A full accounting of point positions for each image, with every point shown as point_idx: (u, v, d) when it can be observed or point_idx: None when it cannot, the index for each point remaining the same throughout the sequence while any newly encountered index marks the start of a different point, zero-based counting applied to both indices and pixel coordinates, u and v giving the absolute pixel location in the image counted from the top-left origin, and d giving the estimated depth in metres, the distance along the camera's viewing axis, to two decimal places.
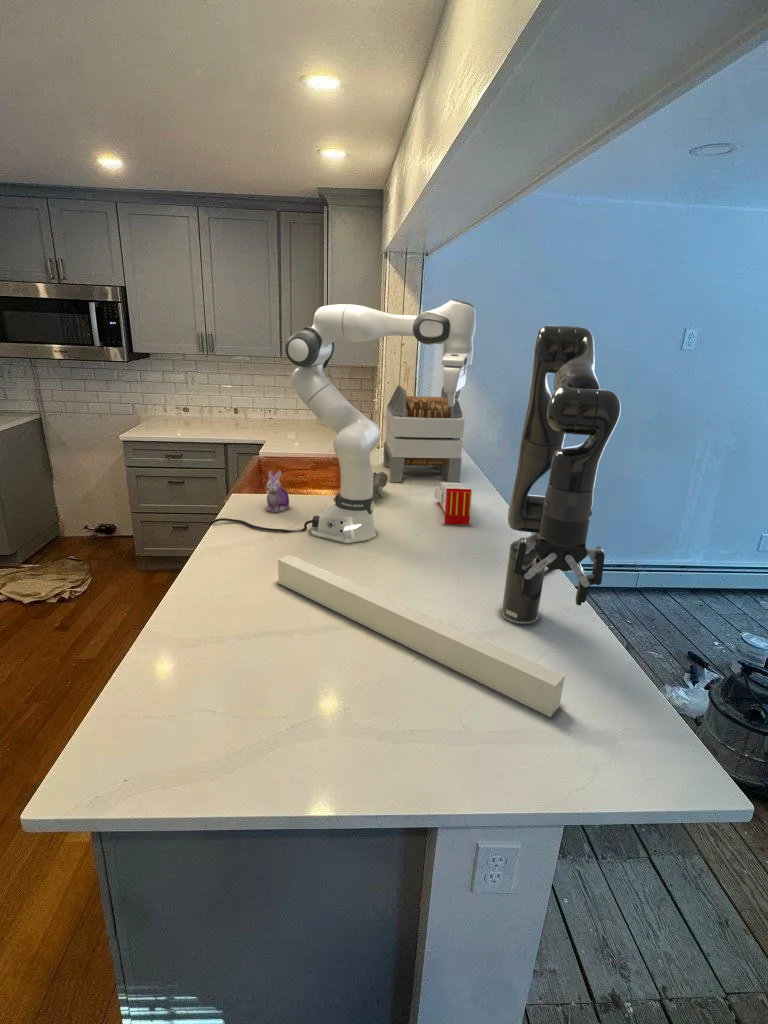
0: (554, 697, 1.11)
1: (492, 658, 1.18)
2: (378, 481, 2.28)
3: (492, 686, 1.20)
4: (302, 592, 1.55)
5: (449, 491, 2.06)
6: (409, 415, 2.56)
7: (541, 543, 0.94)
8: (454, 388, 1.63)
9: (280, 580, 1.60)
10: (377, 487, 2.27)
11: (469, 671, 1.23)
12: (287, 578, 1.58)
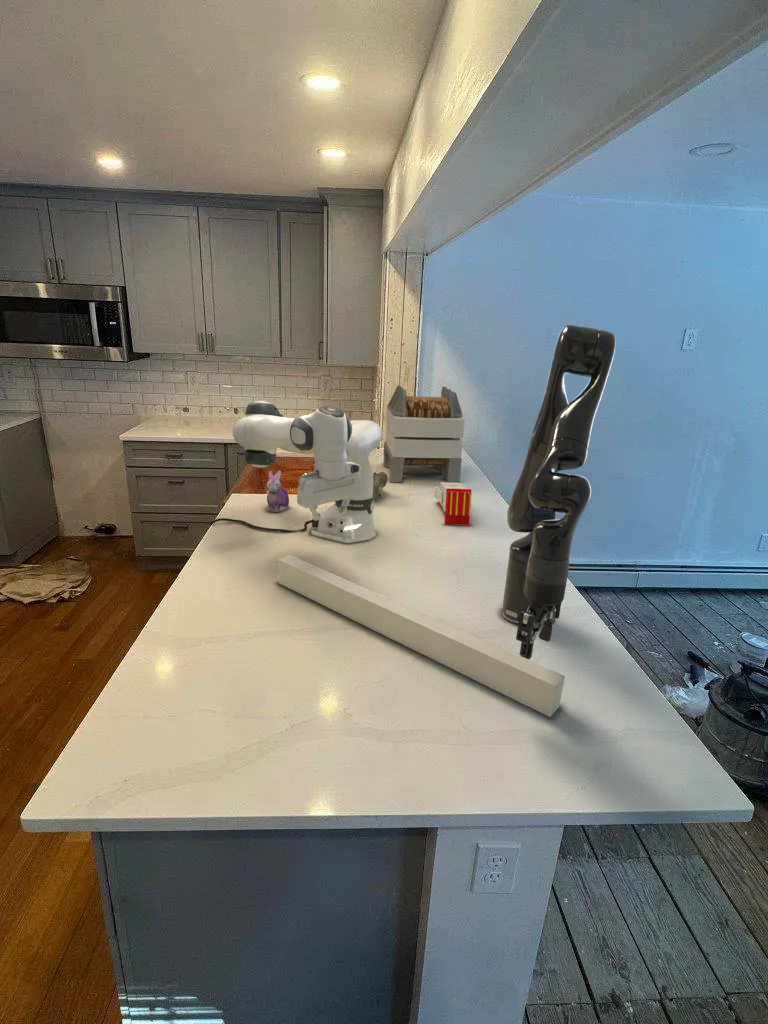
0: (554, 697, 1.11)
1: (492, 658, 1.18)
2: (378, 481, 2.28)
3: (492, 686, 1.20)
4: (302, 592, 1.55)
5: (449, 491, 2.06)
6: (409, 415, 2.56)
7: None
8: None
9: (280, 580, 1.60)
10: (377, 487, 2.27)
11: (469, 671, 1.23)
12: (287, 578, 1.58)
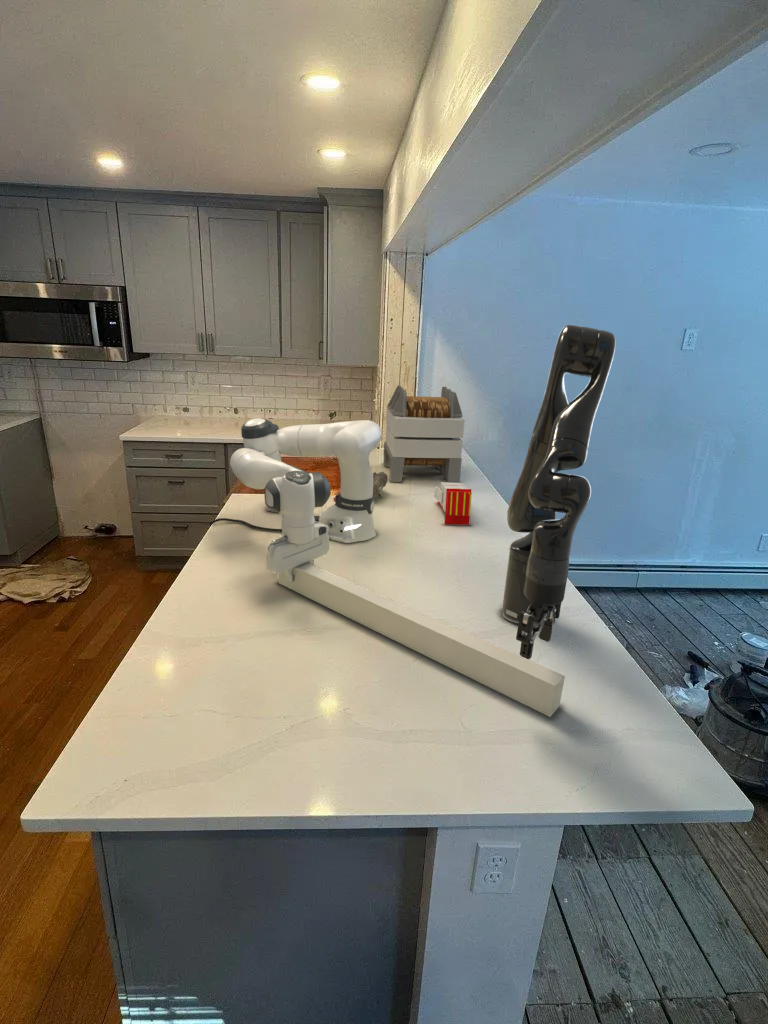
0: (554, 697, 1.11)
1: (492, 658, 1.18)
2: (378, 481, 2.28)
3: (492, 686, 1.20)
4: (302, 592, 1.55)
5: (449, 491, 2.06)
6: (409, 415, 2.56)
7: None
8: None
9: (280, 580, 1.60)
10: (377, 487, 2.27)
11: (469, 671, 1.23)
12: None
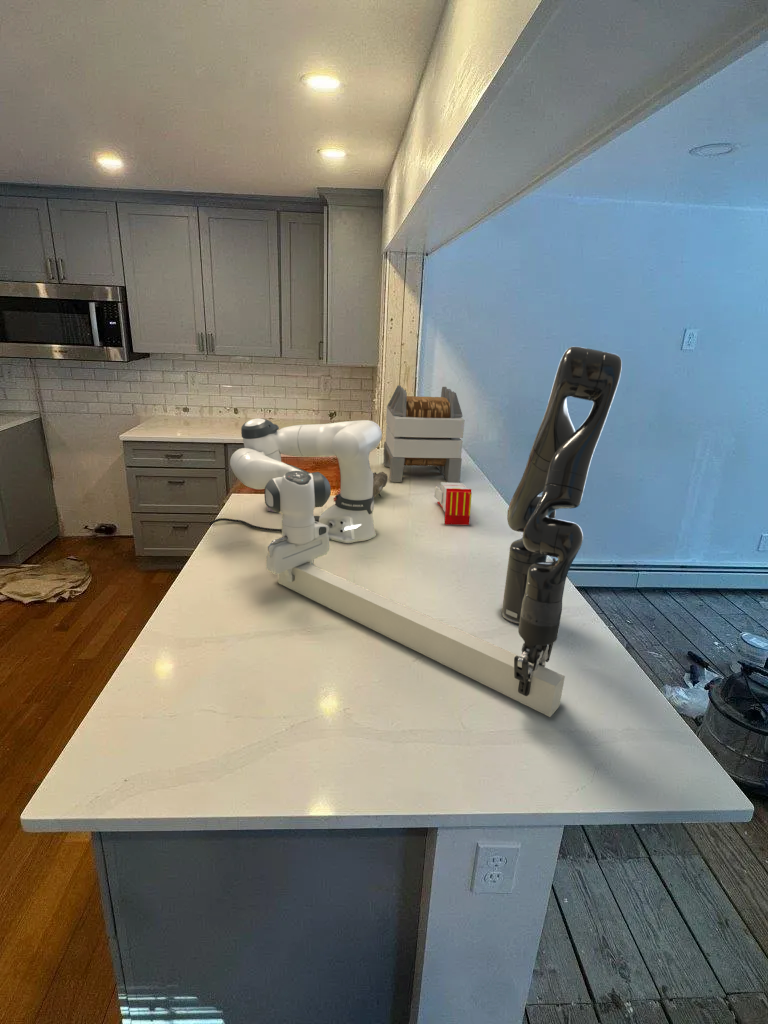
0: (554, 697, 1.11)
1: (492, 658, 1.18)
2: (378, 481, 2.28)
3: (492, 686, 1.20)
4: (301, 592, 1.55)
5: (449, 491, 2.06)
6: (409, 415, 2.56)
7: None
8: None
9: (279, 580, 1.60)
10: (377, 487, 2.27)
11: (469, 671, 1.23)
12: None
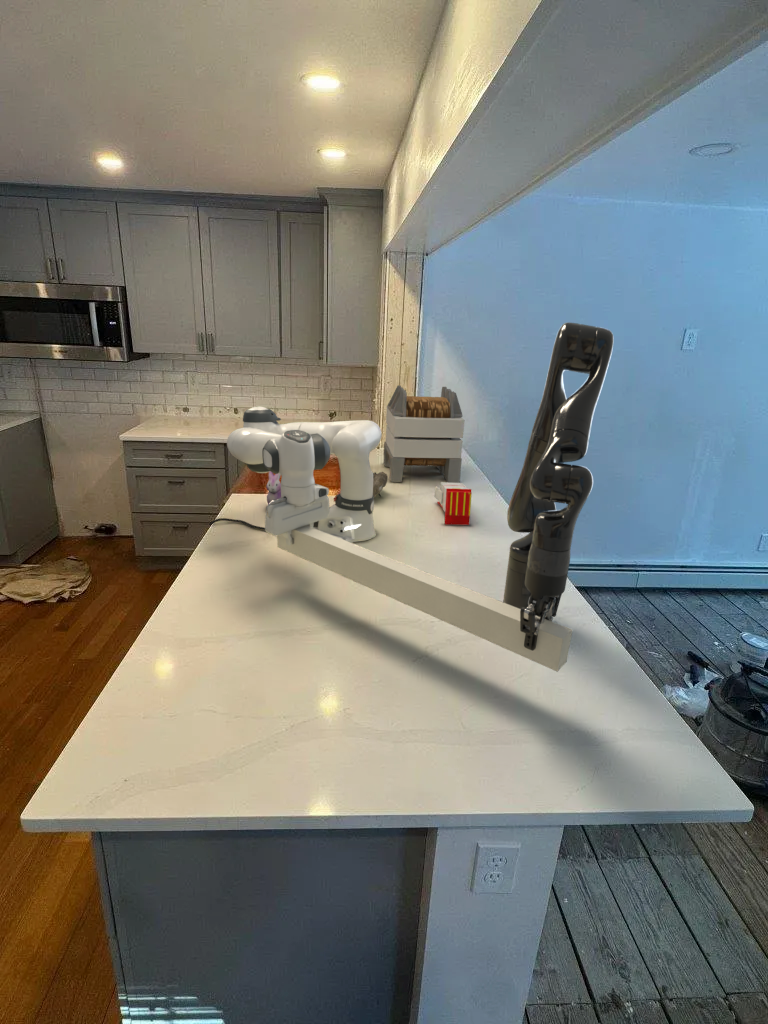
0: (561, 651, 1.08)
1: (497, 613, 1.15)
2: (378, 481, 2.28)
3: (498, 642, 1.16)
4: (301, 555, 1.51)
5: (449, 491, 2.06)
6: (409, 415, 2.56)
7: None
8: None
9: (279, 544, 1.57)
10: (377, 487, 2.27)
11: (474, 628, 1.19)
12: None
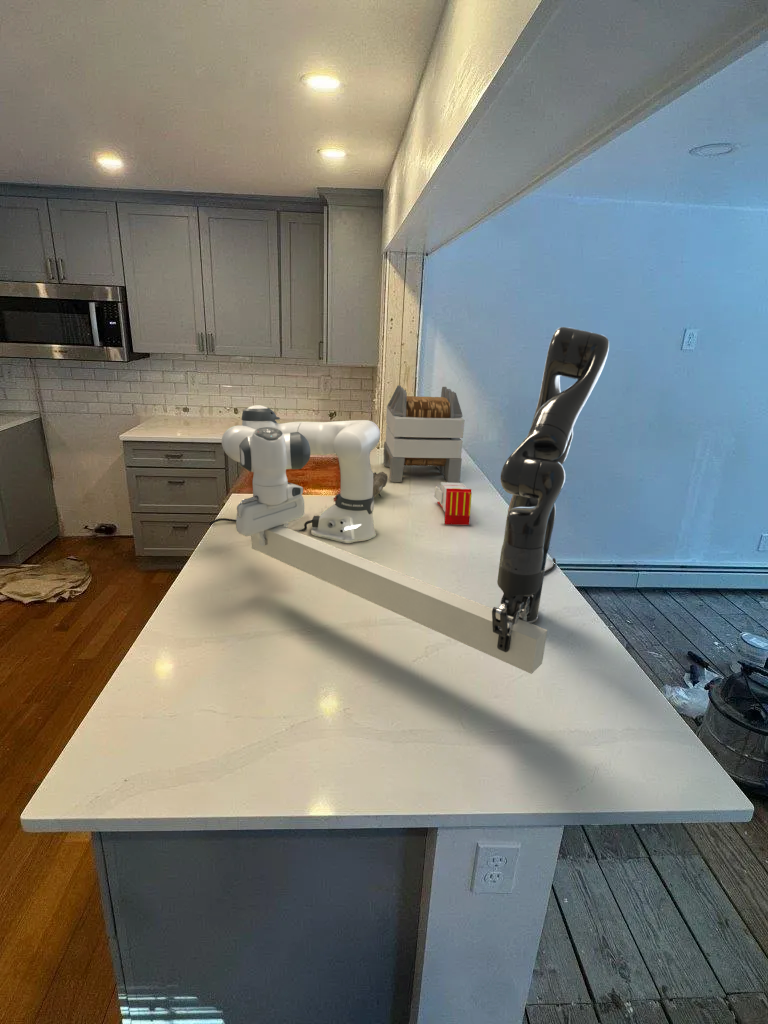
0: (536, 652, 1.04)
1: (470, 614, 1.10)
2: (378, 481, 2.28)
3: (471, 644, 1.12)
4: (275, 556, 1.47)
5: (449, 491, 2.06)
6: (409, 415, 2.56)
7: None
8: None
9: (252, 544, 1.52)
10: (377, 487, 2.27)
11: (447, 629, 1.15)
12: None
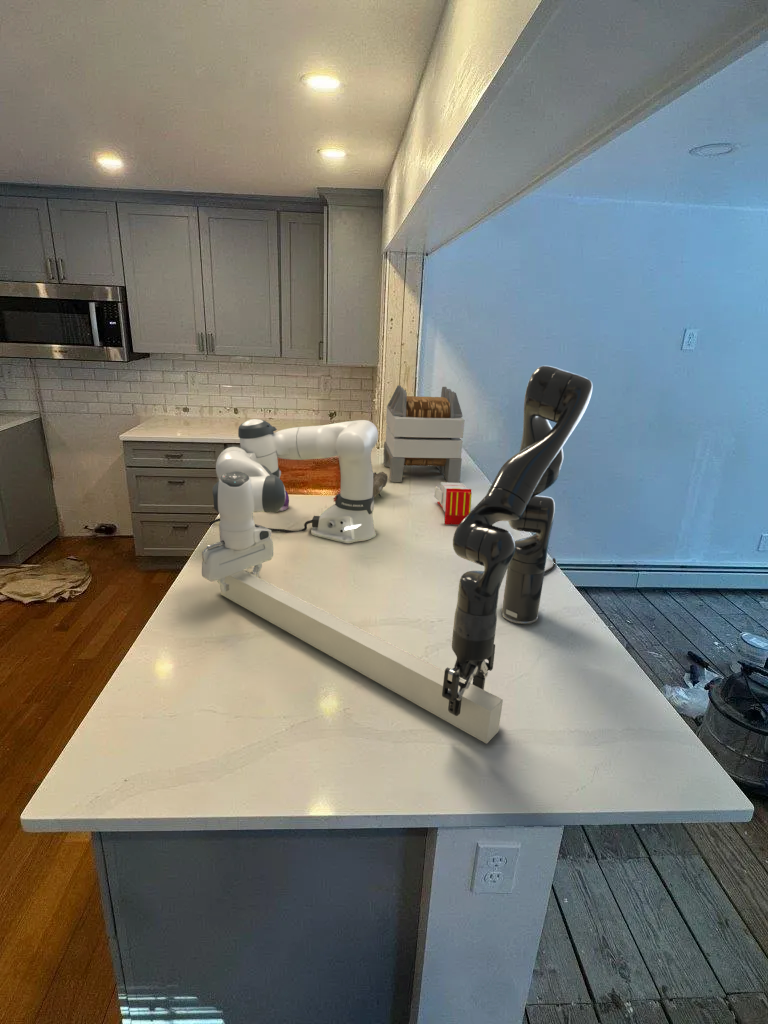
0: (490, 723, 1.03)
1: (428, 679, 1.10)
2: (378, 481, 2.28)
3: (429, 709, 1.12)
4: (243, 605, 1.47)
5: (449, 491, 2.06)
6: (409, 415, 2.56)
7: None
8: None
9: (222, 591, 1.52)
10: (377, 487, 2.27)
11: (406, 692, 1.15)
12: (229, 590, 1.50)
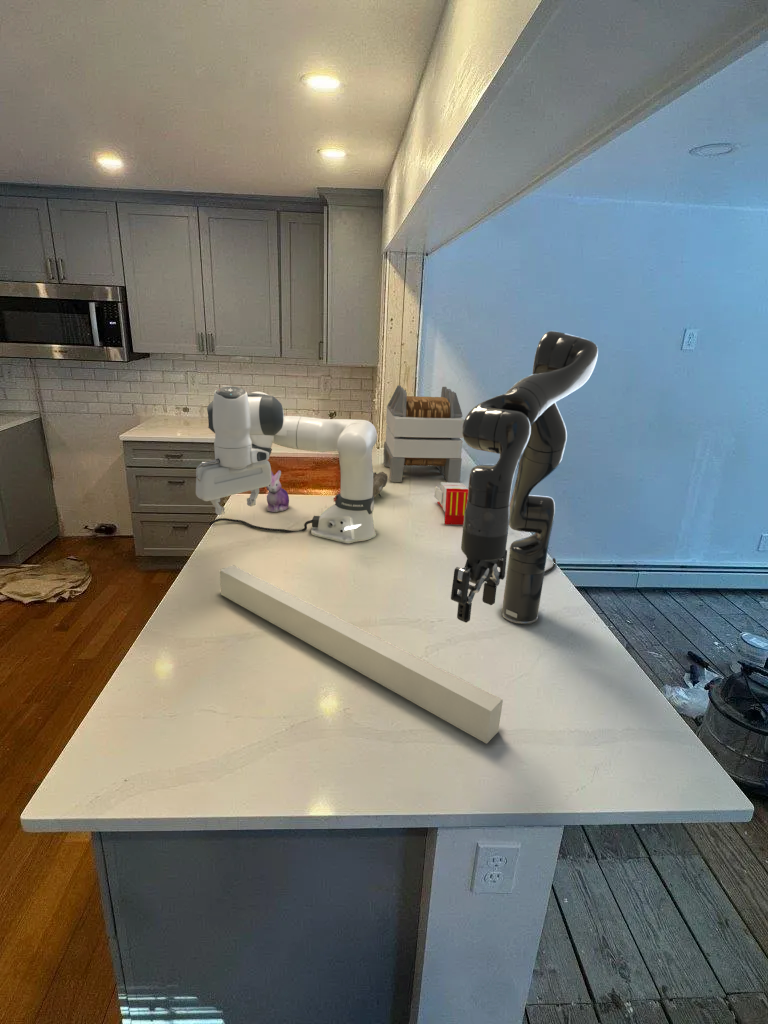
0: (490, 723, 1.03)
1: (428, 679, 1.10)
2: (378, 481, 2.28)
3: (429, 709, 1.12)
4: (243, 605, 1.47)
5: (449, 491, 2.06)
6: (409, 415, 2.56)
7: None
8: None
9: (222, 591, 1.52)
10: (377, 487, 2.27)
11: (406, 692, 1.15)
12: (229, 590, 1.50)
